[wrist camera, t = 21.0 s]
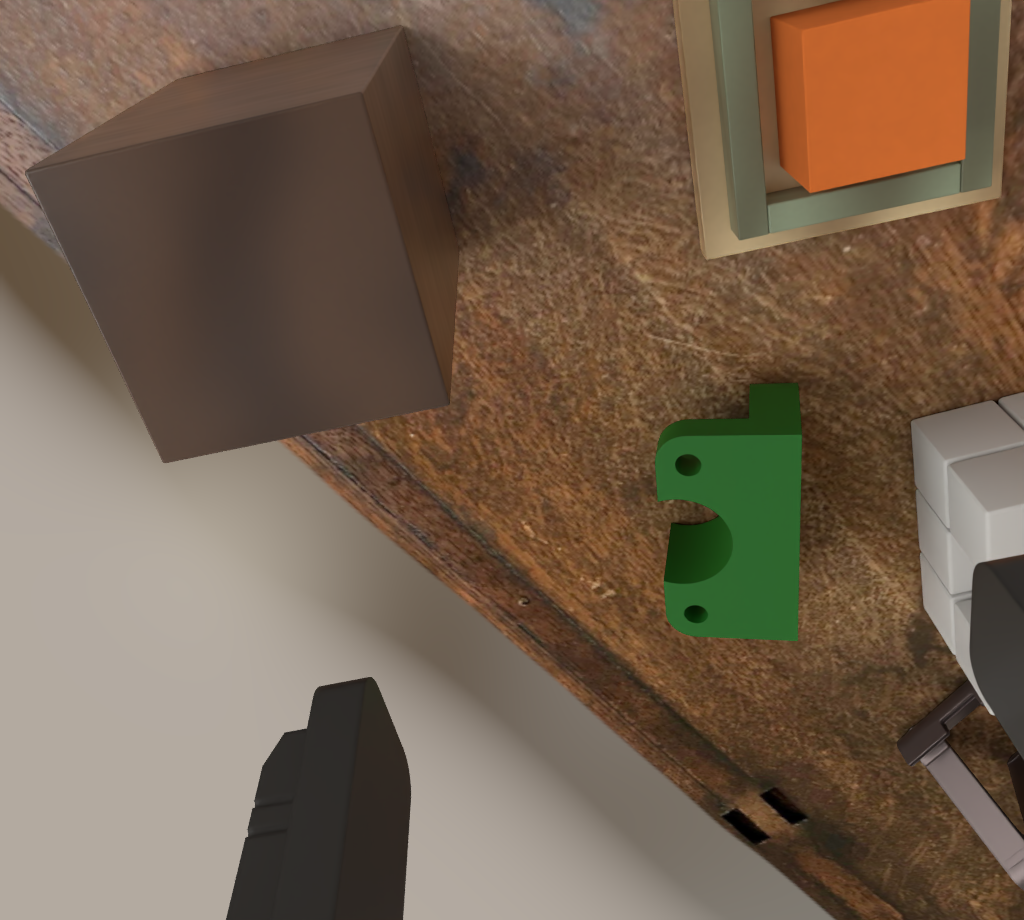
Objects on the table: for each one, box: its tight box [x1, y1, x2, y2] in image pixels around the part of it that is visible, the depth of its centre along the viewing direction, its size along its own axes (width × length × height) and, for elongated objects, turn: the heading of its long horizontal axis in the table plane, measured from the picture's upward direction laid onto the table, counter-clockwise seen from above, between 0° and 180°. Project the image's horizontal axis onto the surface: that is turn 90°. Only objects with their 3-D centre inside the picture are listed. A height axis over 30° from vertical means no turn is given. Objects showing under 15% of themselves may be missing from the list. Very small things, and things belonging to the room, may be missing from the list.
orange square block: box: [770, 0, 971, 193], centre depth 34 cm, size 6×6×4 cm
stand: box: [25, 26, 459, 463], centre depth 32 cm, size 9×9×14 cm
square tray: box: [672, 0, 1012, 260], centre depth 35 cm, size 12×12×3 cm
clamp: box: [655, 383, 802, 641], centre depth 44 cm, size 12×6×9 cm, turn 2°
